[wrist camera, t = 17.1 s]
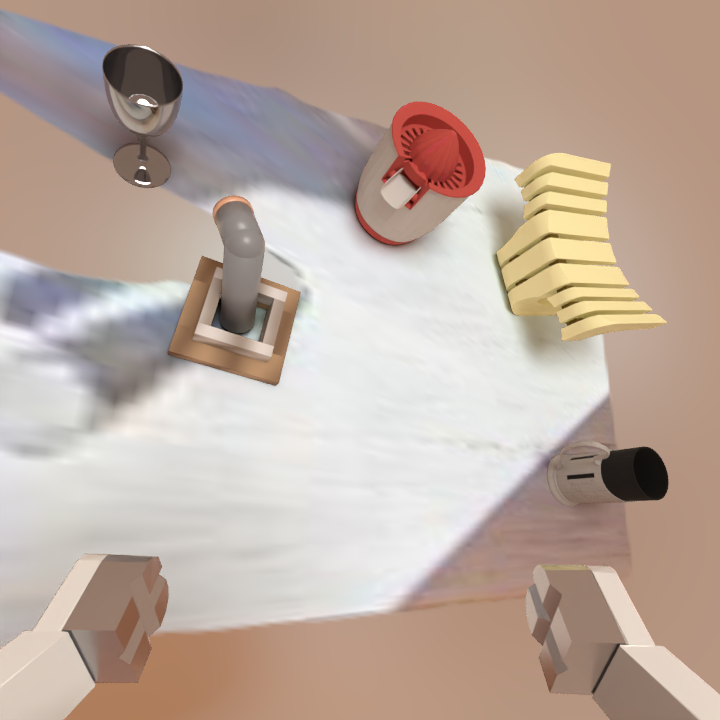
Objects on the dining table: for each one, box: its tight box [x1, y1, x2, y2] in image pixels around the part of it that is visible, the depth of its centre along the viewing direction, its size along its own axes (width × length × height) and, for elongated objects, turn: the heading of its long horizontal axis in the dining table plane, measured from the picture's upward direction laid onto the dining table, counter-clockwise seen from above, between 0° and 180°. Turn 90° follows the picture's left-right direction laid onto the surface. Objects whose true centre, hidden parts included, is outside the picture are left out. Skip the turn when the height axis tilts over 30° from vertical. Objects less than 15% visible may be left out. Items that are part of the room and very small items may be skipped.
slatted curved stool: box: [496, 153, 667, 341], centre depth 81 cm, size 30×16×18 cm, turn 10°
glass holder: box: [547, 441, 668, 506], centre depth 71 cm, size 9×14×15 cm, turn 64°
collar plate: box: [168, 256, 301, 386], centre depth 60 cm, size 14×14×4 cm
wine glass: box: [103, 44, 183, 188], centre depth 56 cm, size 8×8×15 cm
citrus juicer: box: [356, 102, 486, 245], centre depth 70 cm, size 16×17×20 cm
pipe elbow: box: [213, 196, 265, 333], centre depth 56 cm, size 8×5×15 cm, turn 16°
